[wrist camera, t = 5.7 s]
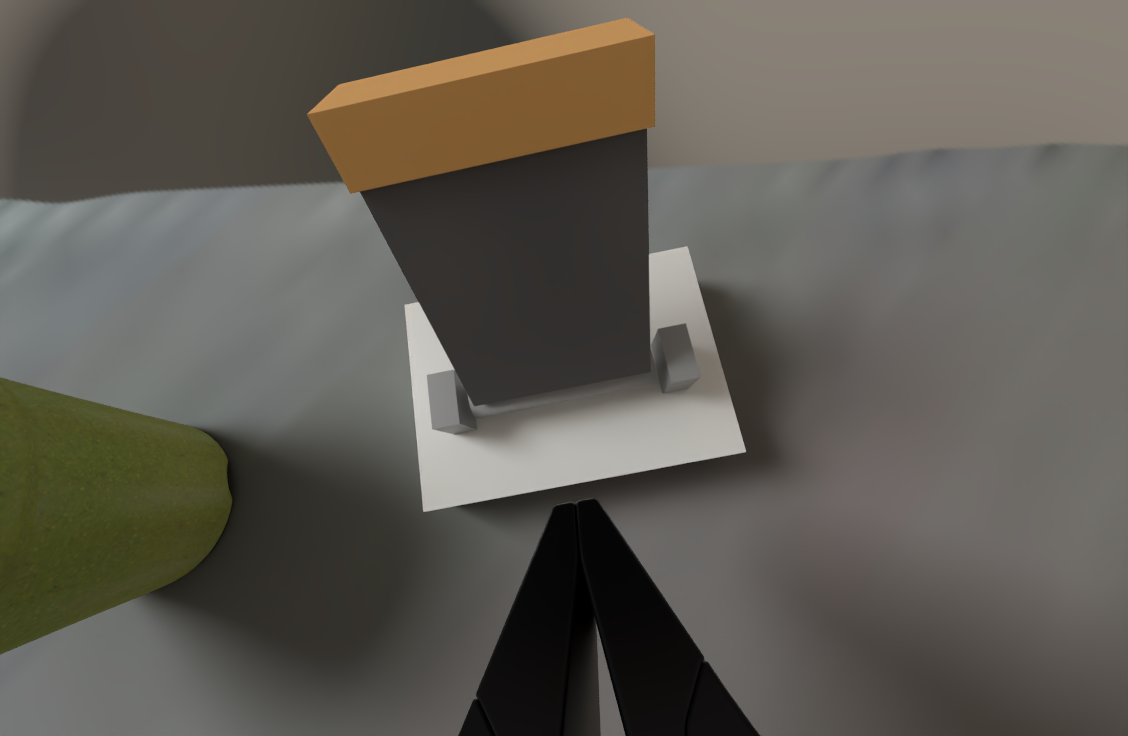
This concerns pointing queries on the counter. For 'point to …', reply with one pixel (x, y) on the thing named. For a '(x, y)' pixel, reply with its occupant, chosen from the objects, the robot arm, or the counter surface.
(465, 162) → the rocker lever
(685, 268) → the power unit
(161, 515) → the plant pot
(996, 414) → the counter surface
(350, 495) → the counter surface
